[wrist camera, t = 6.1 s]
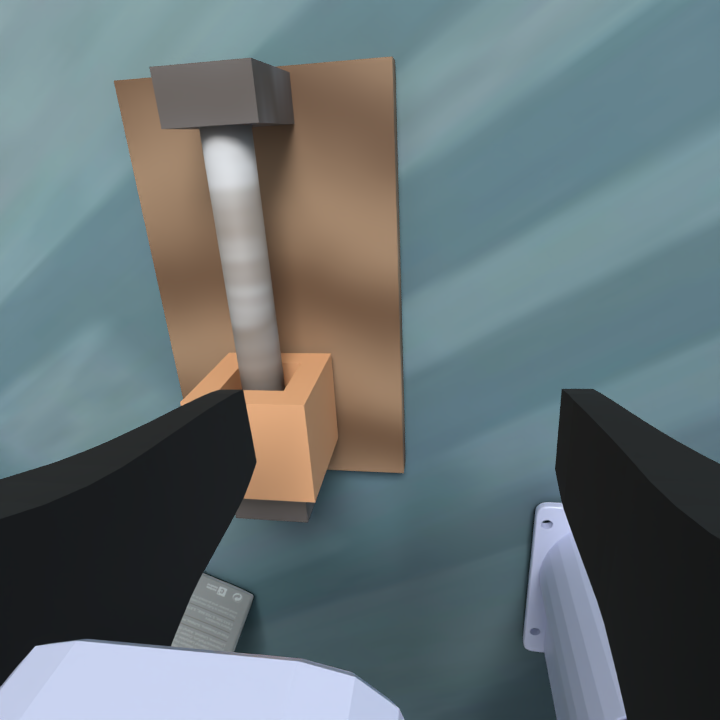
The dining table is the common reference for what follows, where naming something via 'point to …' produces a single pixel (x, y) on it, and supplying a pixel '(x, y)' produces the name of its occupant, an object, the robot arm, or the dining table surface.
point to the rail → (279, 234)
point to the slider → (285, 425)
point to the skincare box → (213, 616)
